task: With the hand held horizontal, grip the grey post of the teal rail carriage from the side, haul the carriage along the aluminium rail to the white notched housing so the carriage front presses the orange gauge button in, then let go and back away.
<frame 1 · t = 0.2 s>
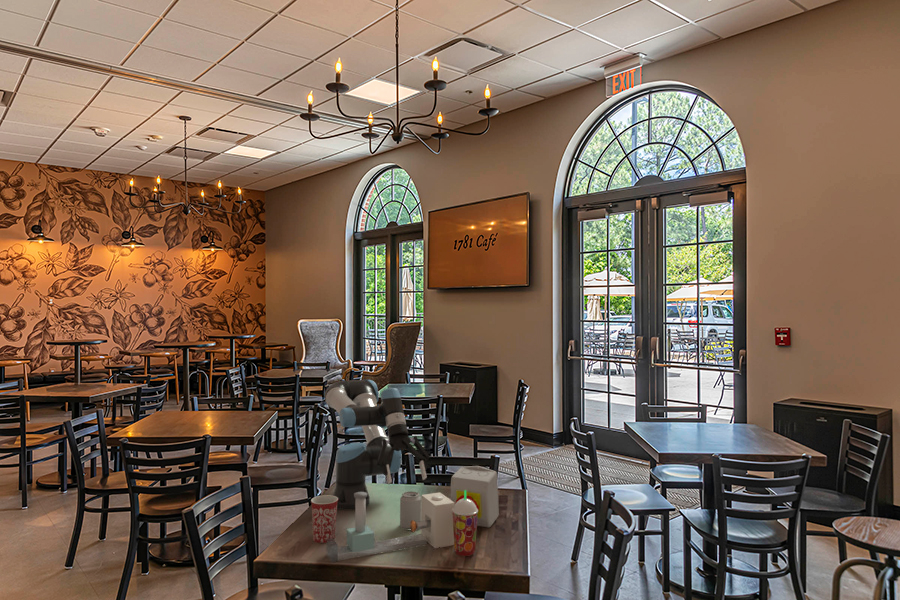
hand: (407, 481, 218), 15 cm above the table, tool tilted 35°, fingers open, 13 cm apart
rail: (380, 549, 193), on the table
mug: (325, 537, 204), on the table
smoothie: (464, 553, 192), on the table
electrical switch box: (472, 524, 217), on the table
carriage: (360, 520, 191), point 11 cm above the table, slide at 0.0 cm
white notched housing: (437, 540, 202), on the table
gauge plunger: (424, 524, 200), point 6 cm above the table, slide at 0.0 cm
can: (410, 527, 214), on the table
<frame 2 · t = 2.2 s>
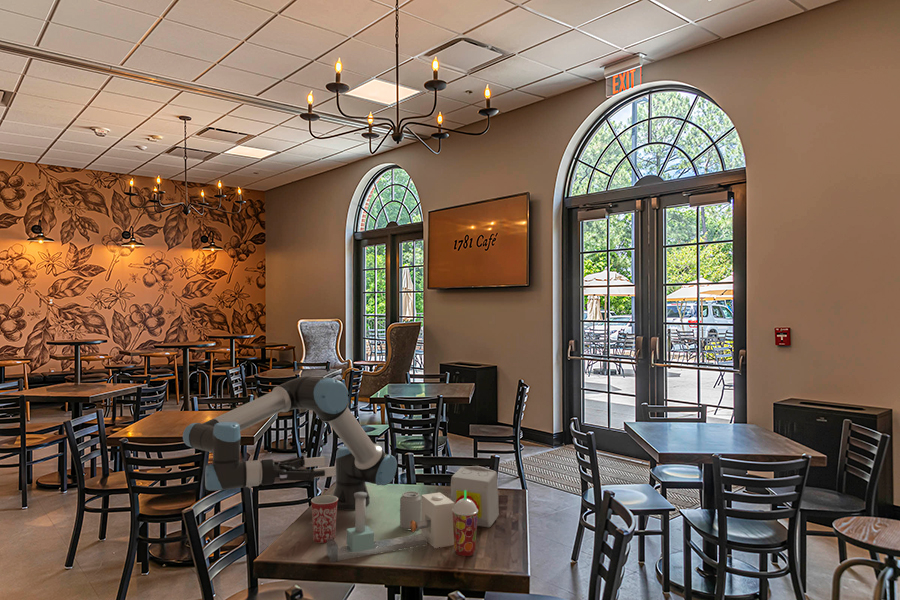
hand: (329, 465, 190), 28 cm above the table, tool horizontal, fingers open, 13 cm apart
nothing on the table moved.
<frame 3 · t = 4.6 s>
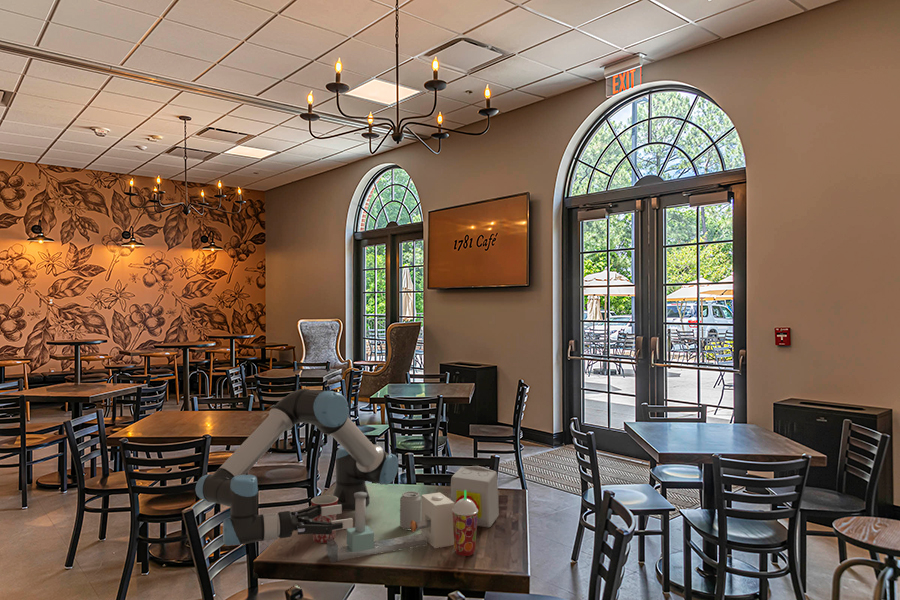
hand: (346, 515, 188), 13 cm above the table, tool horizontal, fingers open, 13 cm apart
nothing on the table moved.
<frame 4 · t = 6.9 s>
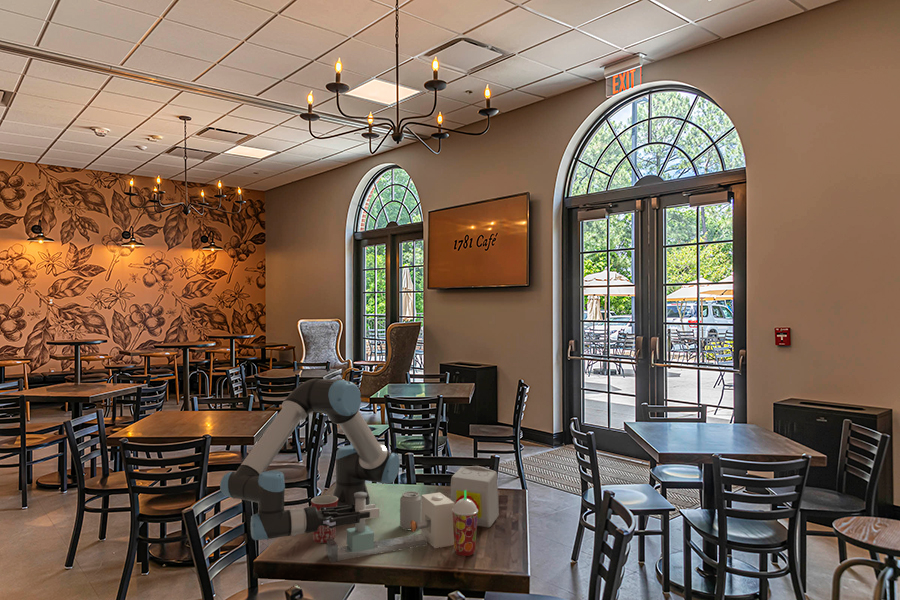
hand: (376, 510, 193), 13 cm above the table, tool horizontal, fingers closed on carriage, 3 cm apart
carriage: (360, 520, 191), point 11 cm above the table, slide at 0.0 cm, touching gripper
everything else where it was.
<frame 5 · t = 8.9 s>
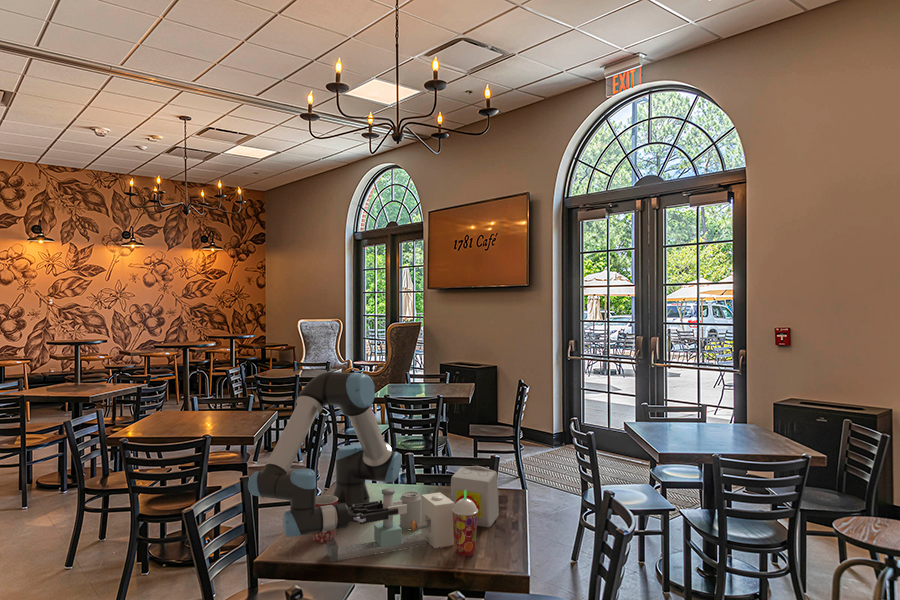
hand: (404, 506, 197), 13 cm above the table, tool horizontal, fingers open, 4 cm apart
carriage: (387, 516, 194), point 11 cm above the table, slide at 9.3 cm, touching gripper
everything else where it was.
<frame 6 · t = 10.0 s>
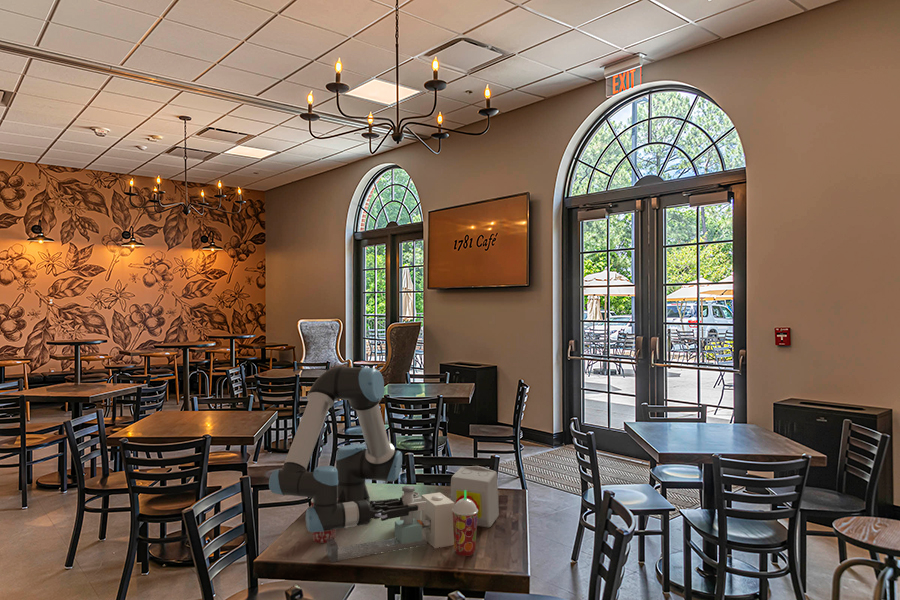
hand: (423, 503, 200), 13 cm above the table, tool horizontal, fingers closed on carriage, 3 cm apart
carriage: (408, 513, 197), point 11 cm above the table, slide at 16.4 cm, touching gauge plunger, gripper
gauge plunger: (430, 523, 201), point 6 cm above the table, slide at 2.2 cm, touching carriage
everything else where it was.
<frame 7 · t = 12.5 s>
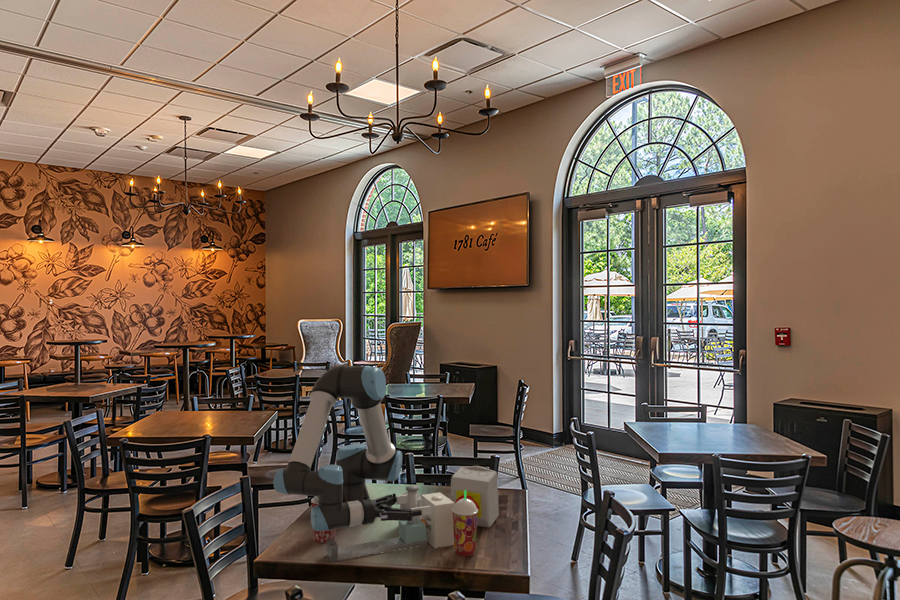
hand: (422, 503, 200), 13 cm above the table, tool horizontal, fingers open, 13 cm apart
carriage: (412, 512, 198), point 11 cm above the table, slide at 17.8 cm
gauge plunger: (433, 522, 201), point 6 cm above the table, slide at 3.6 cm
everything else where it was.
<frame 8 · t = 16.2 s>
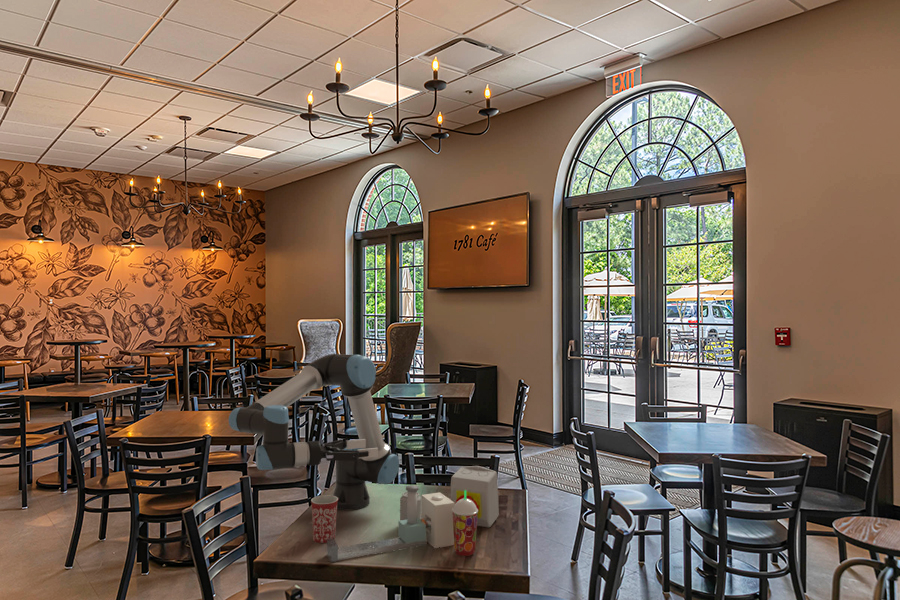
hand: (371, 447, 199), 32 cm above the table, tool horizontal, fingers open, 13 cm apart
nothing on the table moved.
at the end: carriage slide at 17.8 cm; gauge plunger slide at 3.6 cm; the gripper is holding nothing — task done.
